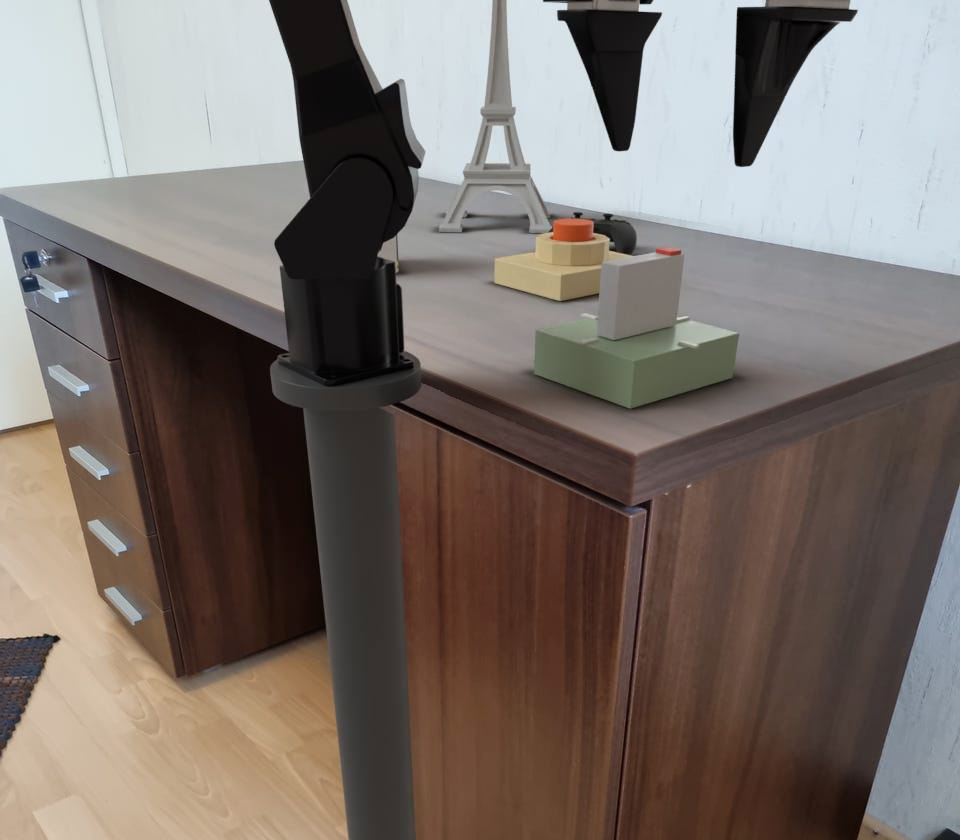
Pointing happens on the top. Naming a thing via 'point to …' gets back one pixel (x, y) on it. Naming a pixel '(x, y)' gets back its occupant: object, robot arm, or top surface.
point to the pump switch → (557, 267)
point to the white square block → (639, 293)
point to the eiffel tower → (501, 114)
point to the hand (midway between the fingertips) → (678, 158)
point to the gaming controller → (614, 232)
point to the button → (573, 230)
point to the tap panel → (635, 360)
